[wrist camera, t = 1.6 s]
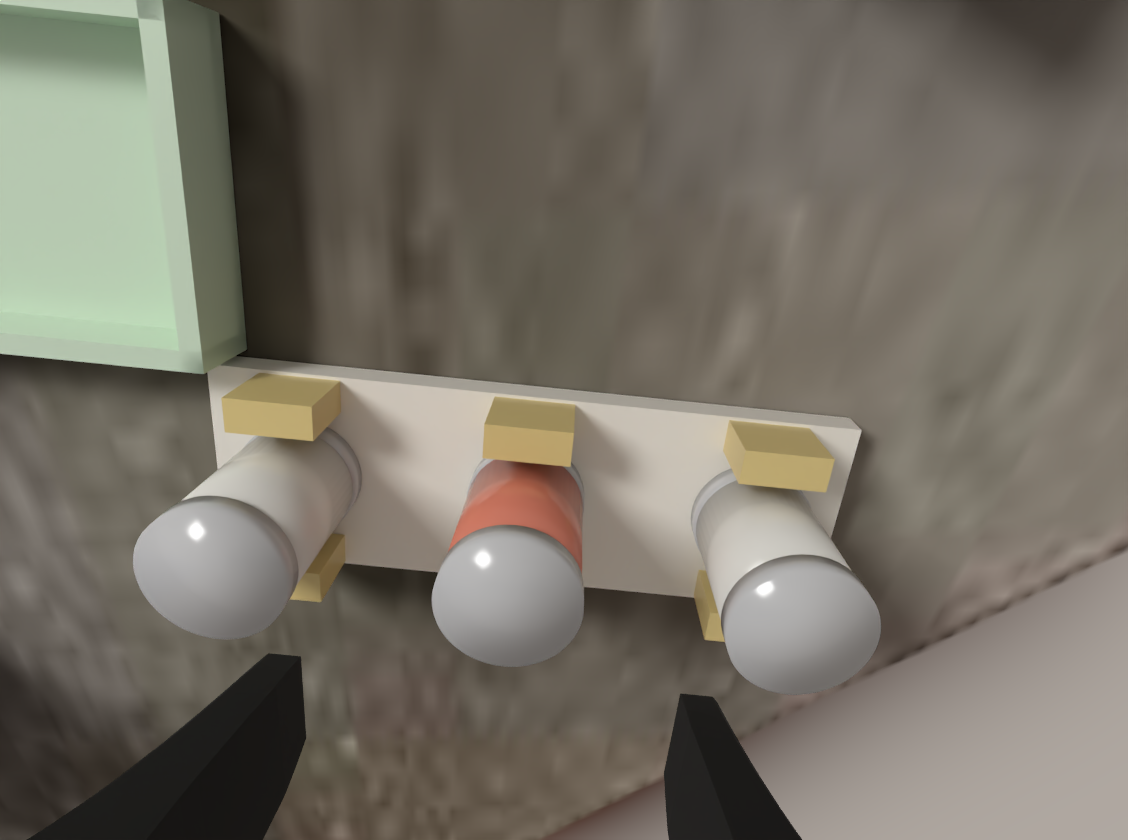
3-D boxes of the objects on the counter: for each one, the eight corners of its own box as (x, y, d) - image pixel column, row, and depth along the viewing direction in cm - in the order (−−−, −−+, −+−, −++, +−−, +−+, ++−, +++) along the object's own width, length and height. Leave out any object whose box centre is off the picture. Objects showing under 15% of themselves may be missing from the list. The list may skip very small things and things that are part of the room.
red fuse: (578, 548, 22) (575, 673, 16) (467, 537, 22) (430, 659, 16) (590, 447, 20) (591, 549, 15) (472, 436, 20) (433, 533, 15)
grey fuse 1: (363, 527, 21) (290, 645, 16) (252, 516, 21) (144, 631, 16) (360, 424, 20) (281, 519, 15) (242, 413, 20) (122, 502, 15)
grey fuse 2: (792, 569, 22) (858, 700, 16) (682, 559, 22) (714, 687, 16) (818, 470, 20) (899, 579, 15) (701, 459, 20) (742, 564, 15)
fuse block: (801, 590, 23) (833, 655, 20) (241, 535, 23) (190, 591, 20) (849, 417, 21) (893, 461, 18) (223, 354, 21) (162, 388, 18)
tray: (247, 349, 20) (203, 373, 18) (-79, 316, 20) (-165, 337, 18) (219, 12, 17) (161, -10, 15) (-171, -28, 17) (-291, -58, 15)
